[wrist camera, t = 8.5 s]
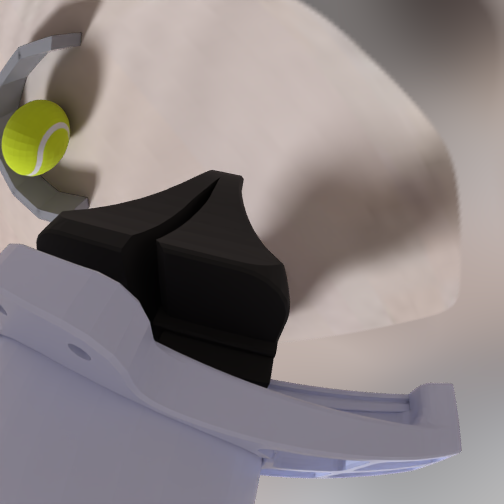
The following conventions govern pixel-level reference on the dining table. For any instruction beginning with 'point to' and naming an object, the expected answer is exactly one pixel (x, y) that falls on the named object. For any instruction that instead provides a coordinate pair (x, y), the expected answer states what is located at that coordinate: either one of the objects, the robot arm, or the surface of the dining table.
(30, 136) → the tennis ball
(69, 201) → the catch ring
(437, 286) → the dining table surface
